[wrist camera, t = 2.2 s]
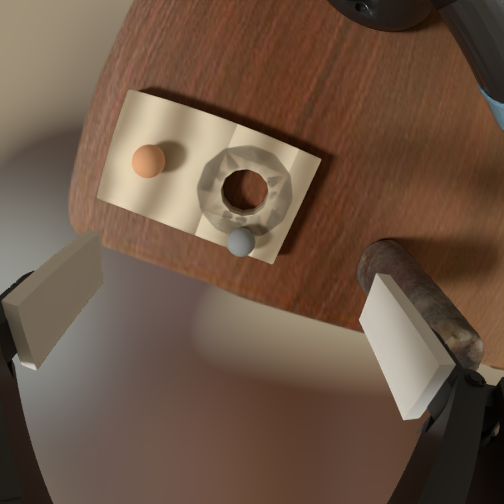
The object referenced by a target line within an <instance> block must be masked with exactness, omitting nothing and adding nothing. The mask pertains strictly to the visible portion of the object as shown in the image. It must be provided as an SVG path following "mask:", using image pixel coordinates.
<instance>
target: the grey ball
mask: <svg viewBox="0 0 504 504" xmlns="http://www.w3.org/2000/svg"><path fill="white" fill-rule="evenodd" d="M227 246H228V249H229V250H230V252H231V253H232V254H234V255H236V256H240V257H242V256H246V255H248V254H250V253H251V252H252V251H253V249H254V247H255V238H254V235H253V234H252V233H251V232H250V231H249V230H247V229H244V228H238V229H235V230H233V231H232V232H231V233H230V234H229V236H228V239H227Z"/></svg>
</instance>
